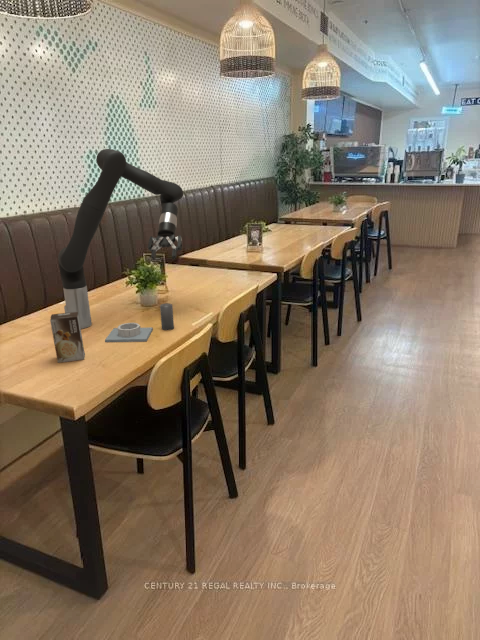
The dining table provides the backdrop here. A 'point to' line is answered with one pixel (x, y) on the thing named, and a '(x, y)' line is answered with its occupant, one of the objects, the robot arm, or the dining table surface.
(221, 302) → the dining table surface
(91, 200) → the robot arm
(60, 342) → the coffee box
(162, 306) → the dark grey cylinder
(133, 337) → the grey ring socket base
